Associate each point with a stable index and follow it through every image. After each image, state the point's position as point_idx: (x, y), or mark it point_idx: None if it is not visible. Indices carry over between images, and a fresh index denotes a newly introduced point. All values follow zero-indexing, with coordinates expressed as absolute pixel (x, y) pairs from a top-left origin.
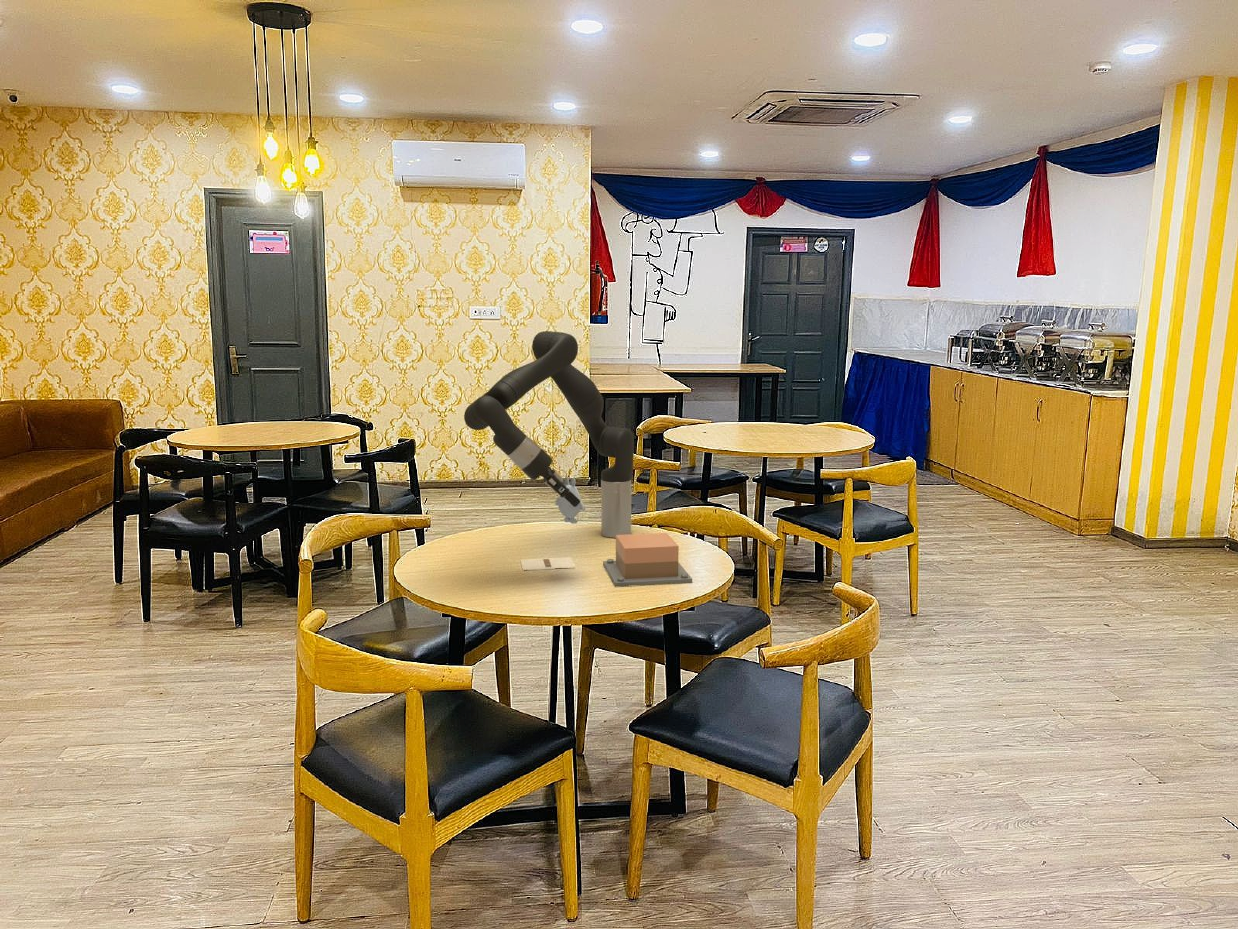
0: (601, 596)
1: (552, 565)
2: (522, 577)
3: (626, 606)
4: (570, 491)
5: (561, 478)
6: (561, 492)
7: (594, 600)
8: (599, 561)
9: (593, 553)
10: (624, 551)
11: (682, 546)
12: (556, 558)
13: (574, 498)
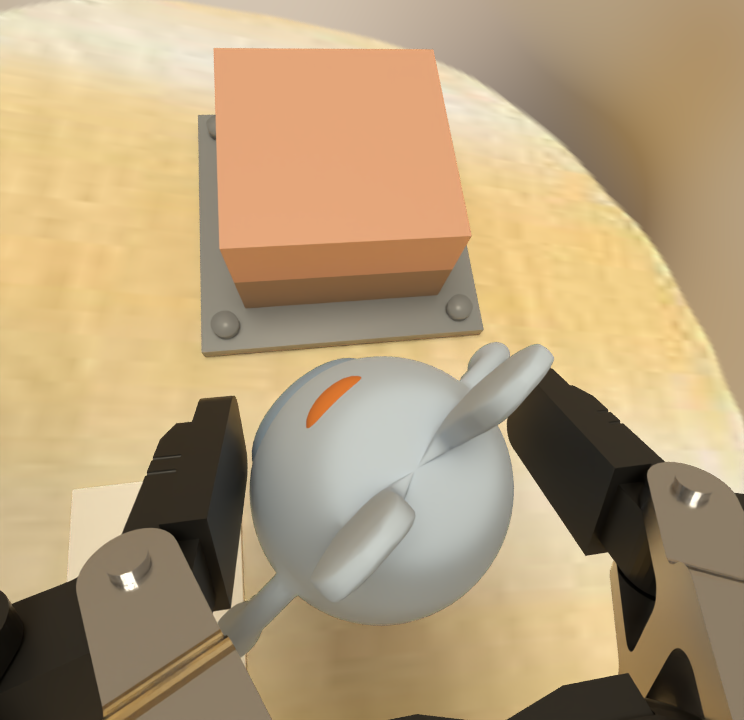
0: (576, 383)
1: None
2: (350, 712)
3: (659, 317)
4: (680, 465)
5: (262, 710)
6: (393, 612)
7: (617, 408)
8: (152, 368)
9: (17, 386)
10: (459, 244)
11: (9, 70)
12: (78, 557)
13: (613, 422)
